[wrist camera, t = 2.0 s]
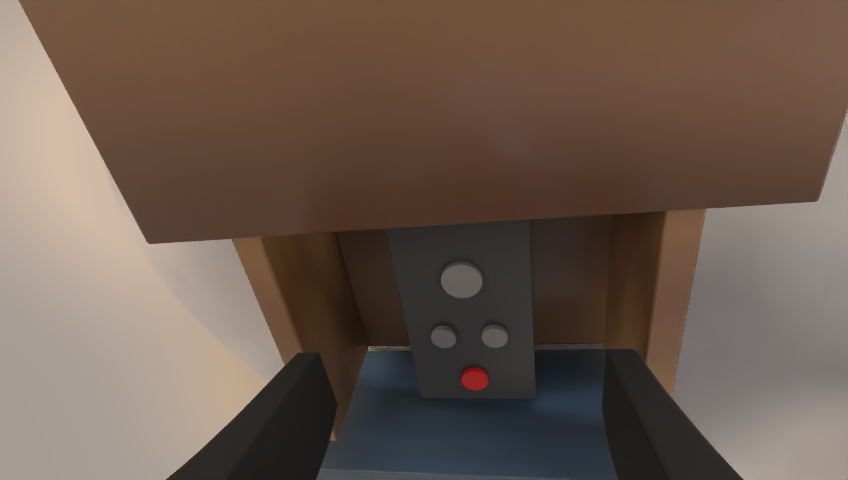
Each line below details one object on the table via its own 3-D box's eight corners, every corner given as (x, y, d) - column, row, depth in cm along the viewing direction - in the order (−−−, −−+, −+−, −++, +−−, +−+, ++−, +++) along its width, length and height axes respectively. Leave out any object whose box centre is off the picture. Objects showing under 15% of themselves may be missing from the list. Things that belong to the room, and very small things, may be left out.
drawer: (625, 430, 21) (663, 570, 16) (372, 425, 24) (340, 545, 19) (673, 21, 13) (786, 59, 8) (264, 77, 15) (150, 134, 10)
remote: (523, 146, 14) (529, 188, 11) (531, 341, 18) (537, 404, 15) (396, 158, 15) (375, 199, 12) (431, 342, 19) (420, 402, 16)
